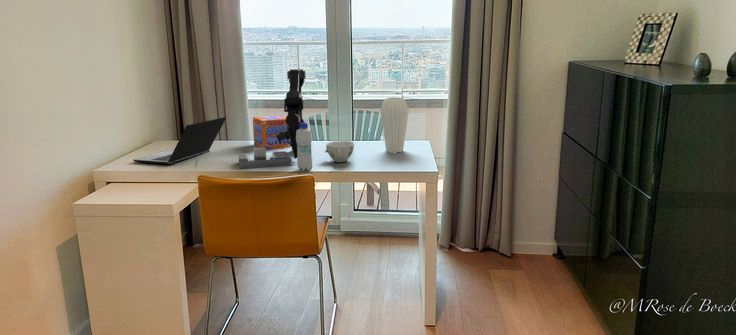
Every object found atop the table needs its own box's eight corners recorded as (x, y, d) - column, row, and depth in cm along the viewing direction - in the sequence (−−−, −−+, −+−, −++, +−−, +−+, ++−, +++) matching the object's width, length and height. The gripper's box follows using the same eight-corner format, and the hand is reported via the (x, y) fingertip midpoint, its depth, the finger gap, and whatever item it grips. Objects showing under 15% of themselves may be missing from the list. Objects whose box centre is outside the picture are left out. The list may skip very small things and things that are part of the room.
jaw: (285, 159, 247) (285, 151, 246) (289, 164, 236) (288, 155, 236) (272, 160, 245) (272, 151, 244) (275, 165, 235) (274, 156, 234)
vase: (399, 149, 270) (400, 96, 264) (413, 153, 258) (413, 98, 253) (376, 151, 264) (375, 97, 259) (388, 156, 253) (388, 100, 247)
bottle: (307, 167, 231) (305, 121, 226) (316, 169, 225) (314, 122, 221) (293, 169, 227) (292, 122, 222) (302, 172, 221) (300, 124, 217)
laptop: (176, 150, 273) (173, 114, 269) (229, 154, 263) (227, 116, 259) (132, 162, 246) (128, 122, 242) (190, 166, 235) (186, 124, 231)
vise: (289, 158, 248) (289, 150, 247) (294, 165, 235) (293, 156, 234) (238, 162, 242) (238, 153, 241) (240, 168, 229) (239, 159, 228)
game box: (253, 146, 280) (252, 117, 277) (282, 144, 288) (280, 115, 285) (263, 151, 267) (262, 120, 264) (293, 148, 275) (291, 118, 271)
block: (265, 162, 241) (264, 147, 240) (266, 164, 237) (265, 149, 235) (254, 163, 240) (253, 148, 238) (255, 165, 236) (254, 149, 234)
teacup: (327, 158, 250) (327, 141, 248) (354, 158, 249) (354, 141, 248) (324, 165, 235) (324, 147, 233) (353, 164, 235) (352, 146, 233)
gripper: (273, 122, 245) (275, 155, 249) (278, 127, 228) (280, 163, 231) (297, 120, 248) (299, 154, 252) (304, 126, 231) (306, 161, 234)
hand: (295, 158), depth 242 cm, fingers closed
